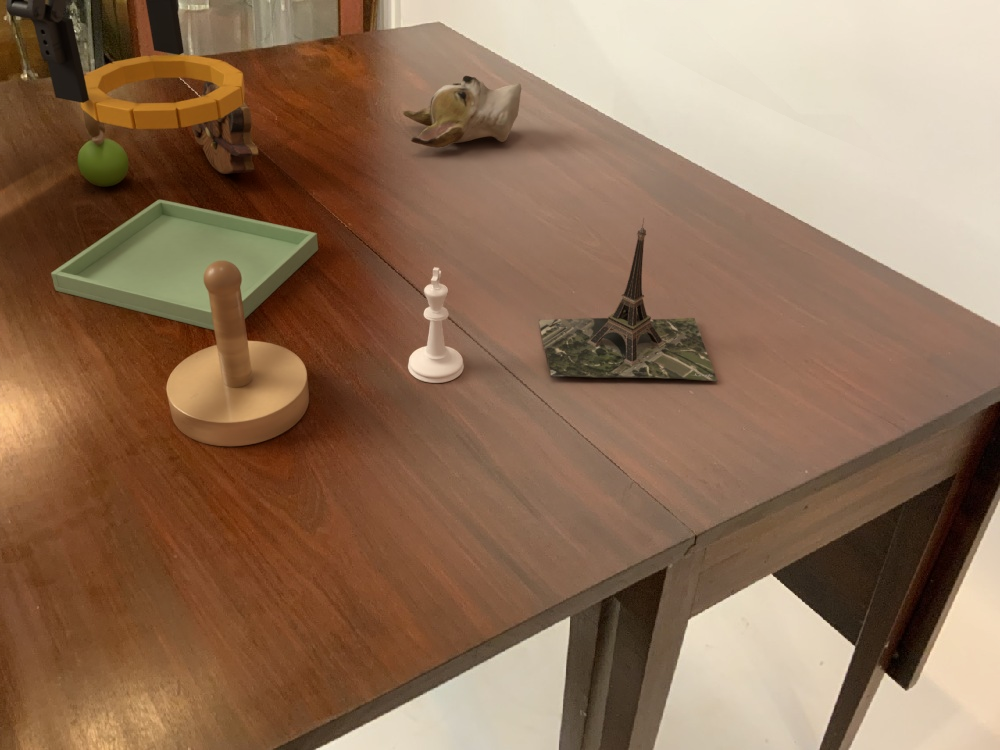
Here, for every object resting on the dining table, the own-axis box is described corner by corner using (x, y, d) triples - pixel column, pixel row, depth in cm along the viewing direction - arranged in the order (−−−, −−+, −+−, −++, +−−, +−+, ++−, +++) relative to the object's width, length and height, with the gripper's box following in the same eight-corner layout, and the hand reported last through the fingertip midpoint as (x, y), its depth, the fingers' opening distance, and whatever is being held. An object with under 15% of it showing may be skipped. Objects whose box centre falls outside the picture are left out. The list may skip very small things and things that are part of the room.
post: (142, 426, 78) (109, 283, 70) (219, 352, 87) (198, 217, 79) (265, 461, 75) (245, 316, 67) (332, 381, 84) (322, 244, 76)
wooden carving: (179, 148, 121) (166, 69, 115) (213, 140, 124) (202, 62, 118) (239, 198, 111) (228, 114, 105) (275, 188, 113) (267, 105, 108)
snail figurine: (132, 169, 116) (112, 69, 109) (133, 192, 111) (112, 89, 104) (83, 173, 115) (60, 72, 107) (82, 196, 110) (58, 93, 103)
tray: (55, 290, 94) (50, 272, 93) (162, 215, 107) (159, 198, 106) (229, 334, 89) (226, 315, 88) (318, 249, 102) (317, 232, 101)
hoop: (48, 111, 81) (44, 93, 80) (147, 63, 91) (144, 46, 91) (186, 140, 78) (183, 121, 77) (273, 86, 88) (271, 69, 87)
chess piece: (469, 355, 88) (471, 258, 82) (456, 387, 84) (457, 288, 78) (416, 347, 89) (415, 250, 83) (401, 378, 85) (398, 279, 79)
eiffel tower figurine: (547, 383, 85) (559, 248, 77) (538, 319, 93) (548, 192, 85) (716, 384, 86) (745, 251, 78) (693, 321, 94) (716, 195, 86)
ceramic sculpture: (529, 86, 119) (407, 96, 117) (529, 152, 124) (413, 163, 122) (513, 58, 127) (399, 67, 125) (513, 121, 132) (404, 131, 130)
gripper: (-13, -190, 62) (62, 131, 74) (208, -220, 81) (238, 40, 93) (-106, -200, 64) (-17, 114, 76) (131, -228, 82) (171, 28, 95)
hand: (123, 74), depth 85 cm, fingers closed on hoop, 12 cm apart
